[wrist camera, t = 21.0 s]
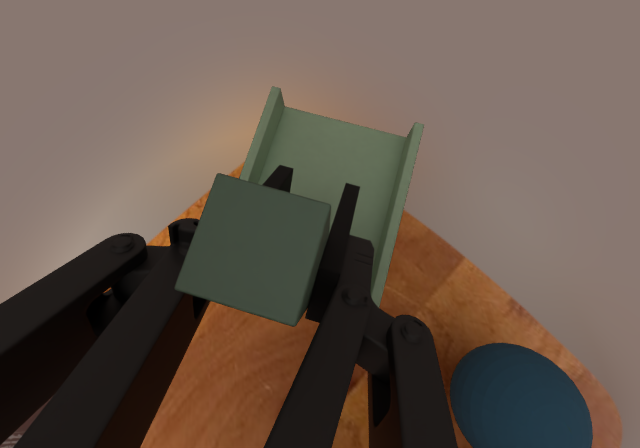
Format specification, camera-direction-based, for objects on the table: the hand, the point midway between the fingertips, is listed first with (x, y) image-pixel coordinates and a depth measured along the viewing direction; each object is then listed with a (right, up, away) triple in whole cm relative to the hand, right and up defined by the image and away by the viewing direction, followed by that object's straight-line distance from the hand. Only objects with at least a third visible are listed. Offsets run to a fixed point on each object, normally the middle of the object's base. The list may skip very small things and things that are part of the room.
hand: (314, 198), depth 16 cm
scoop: (0, 0, +4) cm, 4 cm away
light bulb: (+14, -16, +13) cm, 25 cm away
